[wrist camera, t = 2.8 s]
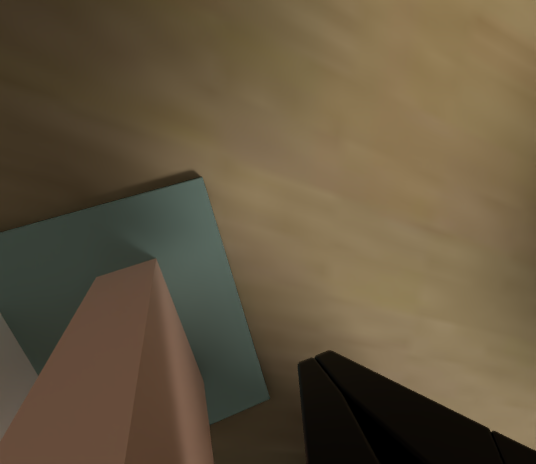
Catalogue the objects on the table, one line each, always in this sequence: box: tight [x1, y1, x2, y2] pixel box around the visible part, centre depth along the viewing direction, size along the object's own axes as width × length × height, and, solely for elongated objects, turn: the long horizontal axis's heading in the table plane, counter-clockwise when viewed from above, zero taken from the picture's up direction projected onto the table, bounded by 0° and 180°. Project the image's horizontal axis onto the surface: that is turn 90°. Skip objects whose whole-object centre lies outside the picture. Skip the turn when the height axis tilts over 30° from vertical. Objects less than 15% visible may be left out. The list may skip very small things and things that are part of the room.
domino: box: [0, 258, 214, 464], centre depth 7 cm, size 5×2×8 cm, turn 14°
